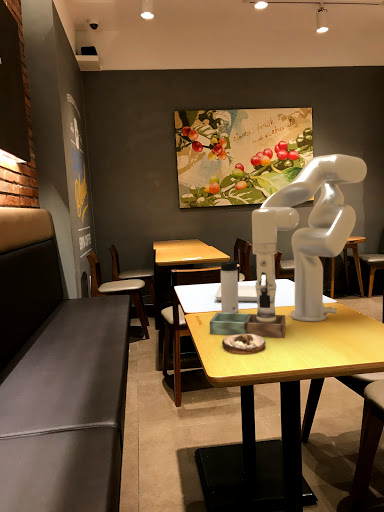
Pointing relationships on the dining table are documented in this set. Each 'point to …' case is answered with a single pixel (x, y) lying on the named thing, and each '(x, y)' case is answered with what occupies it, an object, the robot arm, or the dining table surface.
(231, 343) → the sushi roll
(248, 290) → the salad plate
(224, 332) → the dock
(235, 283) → the travel mug
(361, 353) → the dining table surface
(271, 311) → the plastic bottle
